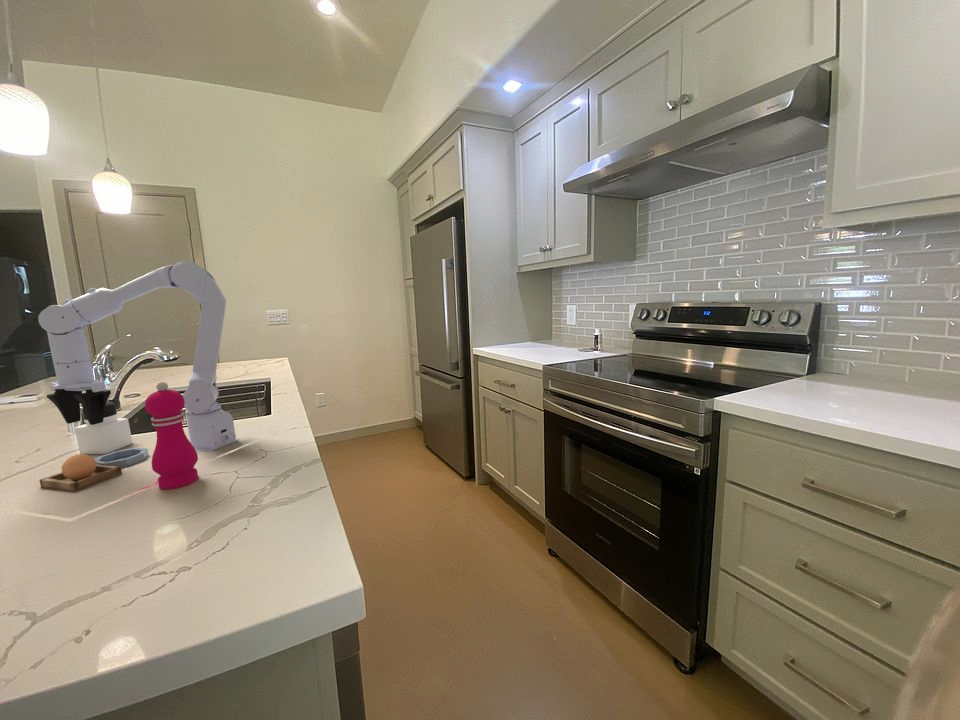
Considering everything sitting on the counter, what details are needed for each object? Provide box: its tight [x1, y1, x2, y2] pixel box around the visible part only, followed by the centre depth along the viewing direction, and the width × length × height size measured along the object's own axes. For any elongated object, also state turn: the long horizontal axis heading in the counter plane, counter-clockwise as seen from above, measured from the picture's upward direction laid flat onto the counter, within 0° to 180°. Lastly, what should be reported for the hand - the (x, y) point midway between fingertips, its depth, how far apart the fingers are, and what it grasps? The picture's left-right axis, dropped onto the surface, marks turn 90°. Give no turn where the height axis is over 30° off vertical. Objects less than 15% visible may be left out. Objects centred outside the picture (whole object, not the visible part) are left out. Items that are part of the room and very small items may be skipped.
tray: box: [39, 464, 123, 493], centre depth 83 cm, size 10×8×2 cm
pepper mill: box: [144, 381, 199, 490], centre depth 79 cm, size 7×7×20 cm
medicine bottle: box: [74, 401, 133, 455], centre depth 101 cm, size 7×7×12 cm
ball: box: [61, 453, 96, 480], centre depth 82 cm, size 5×5×5 cm
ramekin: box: [94, 447, 149, 468], centre depth 92 cm, size 9×9×2 cm
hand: (85, 422), depth 91 cm, fingers open, 7 cm apart
